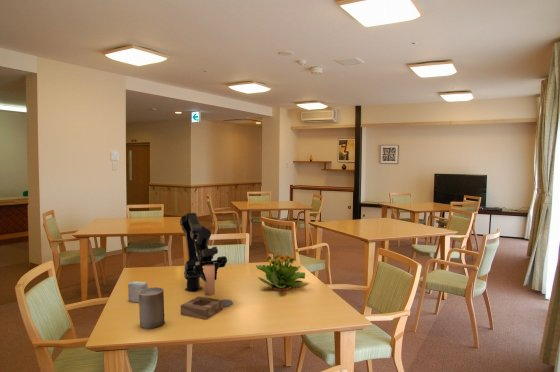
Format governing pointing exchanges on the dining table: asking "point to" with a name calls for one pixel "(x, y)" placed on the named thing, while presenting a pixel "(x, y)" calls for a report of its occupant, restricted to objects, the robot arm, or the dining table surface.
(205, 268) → the peg
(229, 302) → the coaster
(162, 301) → the pillar candle
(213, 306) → the pocket block
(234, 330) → the dining table surface
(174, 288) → the dining table surface
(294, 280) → the potted flower
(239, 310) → the dining table surface
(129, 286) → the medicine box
